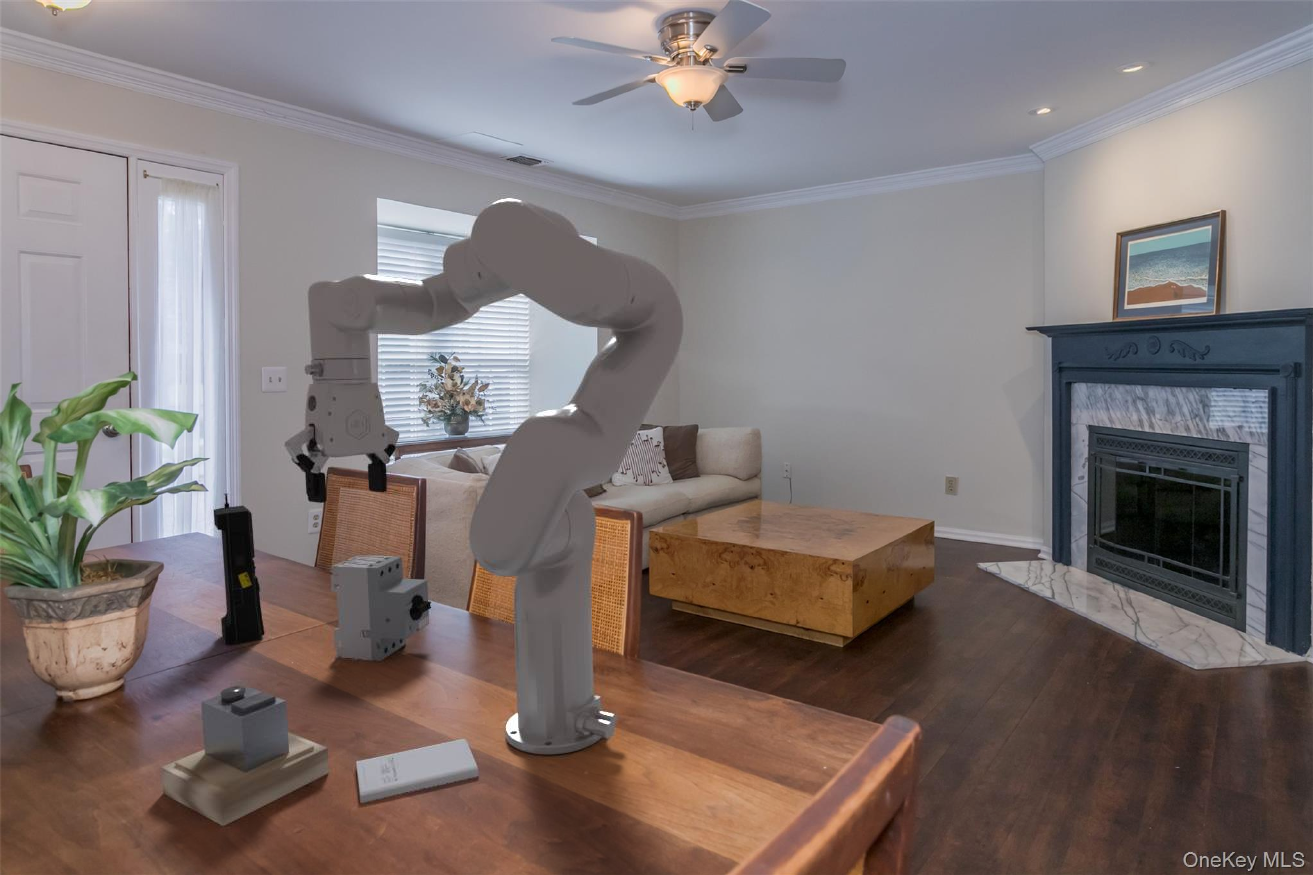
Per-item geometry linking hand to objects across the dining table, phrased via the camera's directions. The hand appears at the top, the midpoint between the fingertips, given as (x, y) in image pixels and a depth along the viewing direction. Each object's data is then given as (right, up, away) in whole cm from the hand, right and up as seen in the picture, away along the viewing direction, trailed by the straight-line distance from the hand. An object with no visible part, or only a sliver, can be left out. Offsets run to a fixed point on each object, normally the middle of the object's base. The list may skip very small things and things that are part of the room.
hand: (348, 496), depth 108 cm
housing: (-3, -27, -22) cm, 35 cm away
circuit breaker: (-1, -27, +19) cm, 33 cm away
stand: (-3, -30, -21) cm, 37 cm away
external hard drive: (+15, -31, -20) cm, 40 cm away
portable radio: (-29, -27, +27) cm, 48 cm away
